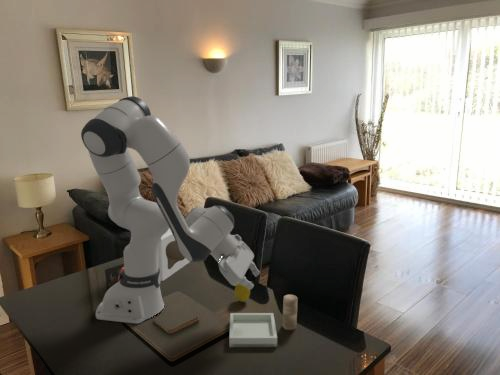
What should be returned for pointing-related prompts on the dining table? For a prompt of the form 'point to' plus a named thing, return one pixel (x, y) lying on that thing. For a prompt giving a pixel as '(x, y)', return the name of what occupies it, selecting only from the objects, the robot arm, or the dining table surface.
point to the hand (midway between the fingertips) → (255, 281)
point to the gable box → (169, 256)
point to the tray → (252, 330)
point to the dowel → (290, 312)
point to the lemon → (242, 292)
